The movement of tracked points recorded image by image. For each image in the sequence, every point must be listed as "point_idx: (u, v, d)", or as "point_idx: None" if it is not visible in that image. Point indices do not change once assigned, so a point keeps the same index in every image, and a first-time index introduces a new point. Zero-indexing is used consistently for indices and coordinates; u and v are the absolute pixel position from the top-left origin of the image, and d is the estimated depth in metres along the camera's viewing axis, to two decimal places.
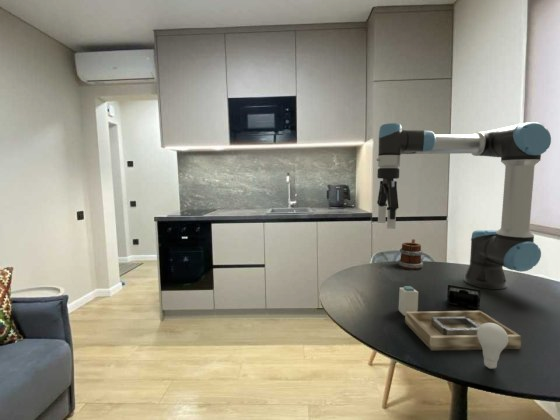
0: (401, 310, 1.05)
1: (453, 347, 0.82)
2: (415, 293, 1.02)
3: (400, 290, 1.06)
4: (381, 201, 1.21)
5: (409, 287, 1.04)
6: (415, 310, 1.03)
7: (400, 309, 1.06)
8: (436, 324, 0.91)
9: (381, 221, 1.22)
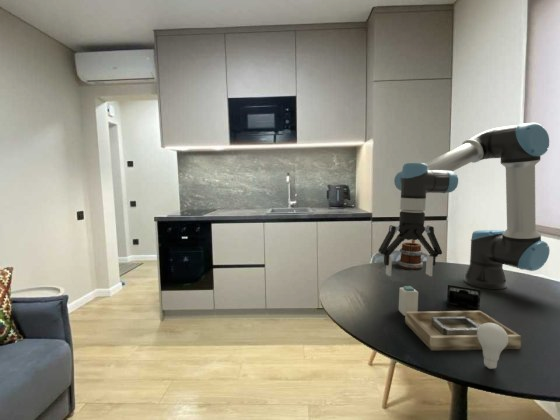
0: (401, 310, 1.05)
1: (453, 347, 0.82)
2: (415, 293, 1.02)
3: (400, 290, 1.06)
4: (426, 249, 1.04)
5: (409, 287, 1.04)
6: (415, 310, 1.03)
7: (400, 309, 1.06)
8: (436, 324, 0.91)
9: (427, 272, 1.04)
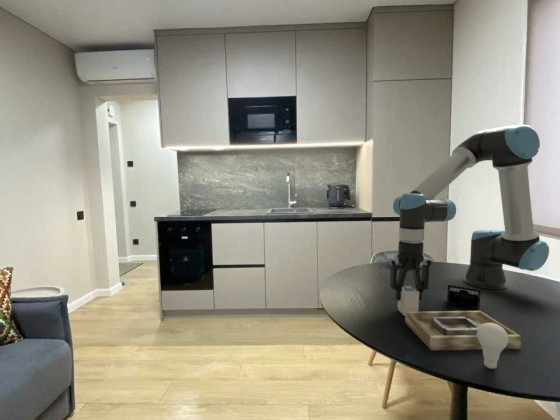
0: None
1: (453, 347, 0.82)
2: (415, 293, 1.02)
3: None
4: (415, 282, 1.05)
5: (409, 287, 1.04)
6: (415, 310, 1.03)
7: None
8: (436, 324, 0.91)
9: None
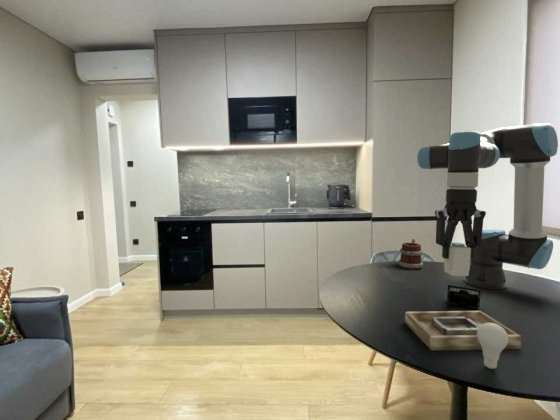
0: None
1: (453, 347, 0.82)
2: (466, 249, 0.87)
3: None
4: (465, 237, 0.90)
5: (458, 243, 0.89)
6: (466, 269, 0.88)
7: None
8: (436, 324, 0.91)
9: None
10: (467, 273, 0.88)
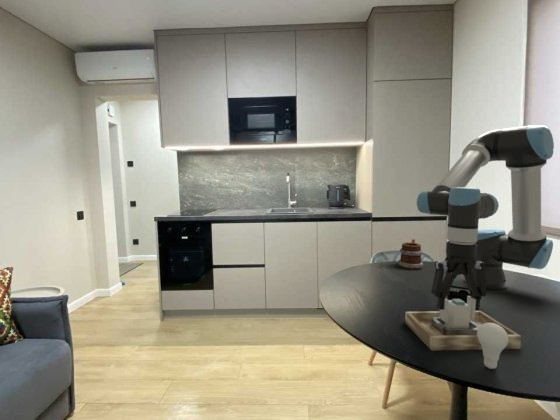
0: (449, 326, 0.91)
1: (453, 347, 0.82)
2: (467, 307, 0.88)
3: None
4: (469, 288, 0.91)
5: (459, 300, 0.90)
6: (466, 327, 0.89)
7: (447, 325, 0.92)
8: (436, 324, 0.91)
9: None
10: None
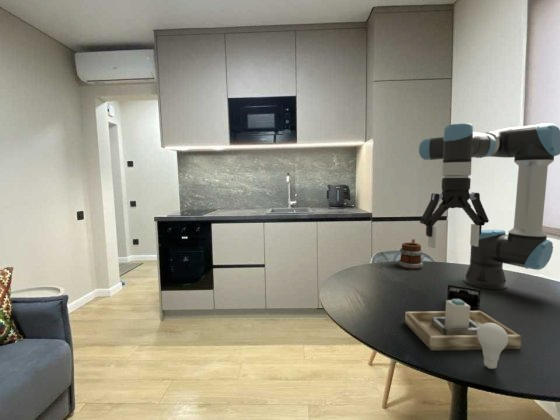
0: (449, 326, 0.91)
1: (453, 347, 0.82)
2: (466, 307, 0.88)
3: (447, 303, 0.92)
4: (471, 218, 0.96)
5: (458, 300, 0.90)
6: (466, 327, 0.89)
7: (447, 325, 0.92)
8: (436, 324, 0.91)
9: (472, 242, 0.97)
10: None
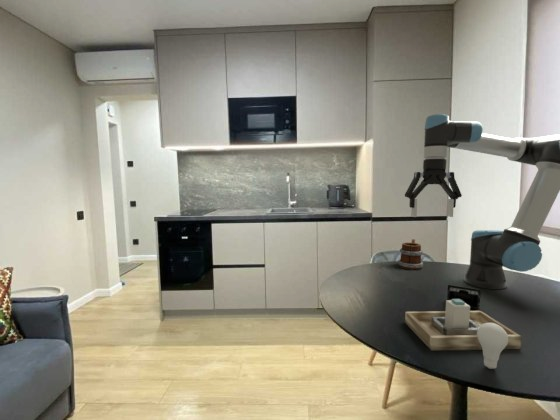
0: (449, 326, 0.91)
1: (453, 347, 0.82)
2: (466, 307, 0.88)
3: (447, 303, 0.92)
4: (447, 193, 1.16)
5: (458, 300, 0.90)
6: (466, 327, 0.89)
7: (447, 325, 0.92)
8: (436, 324, 0.91)
9: (448, 214, 1.17)
10: None
